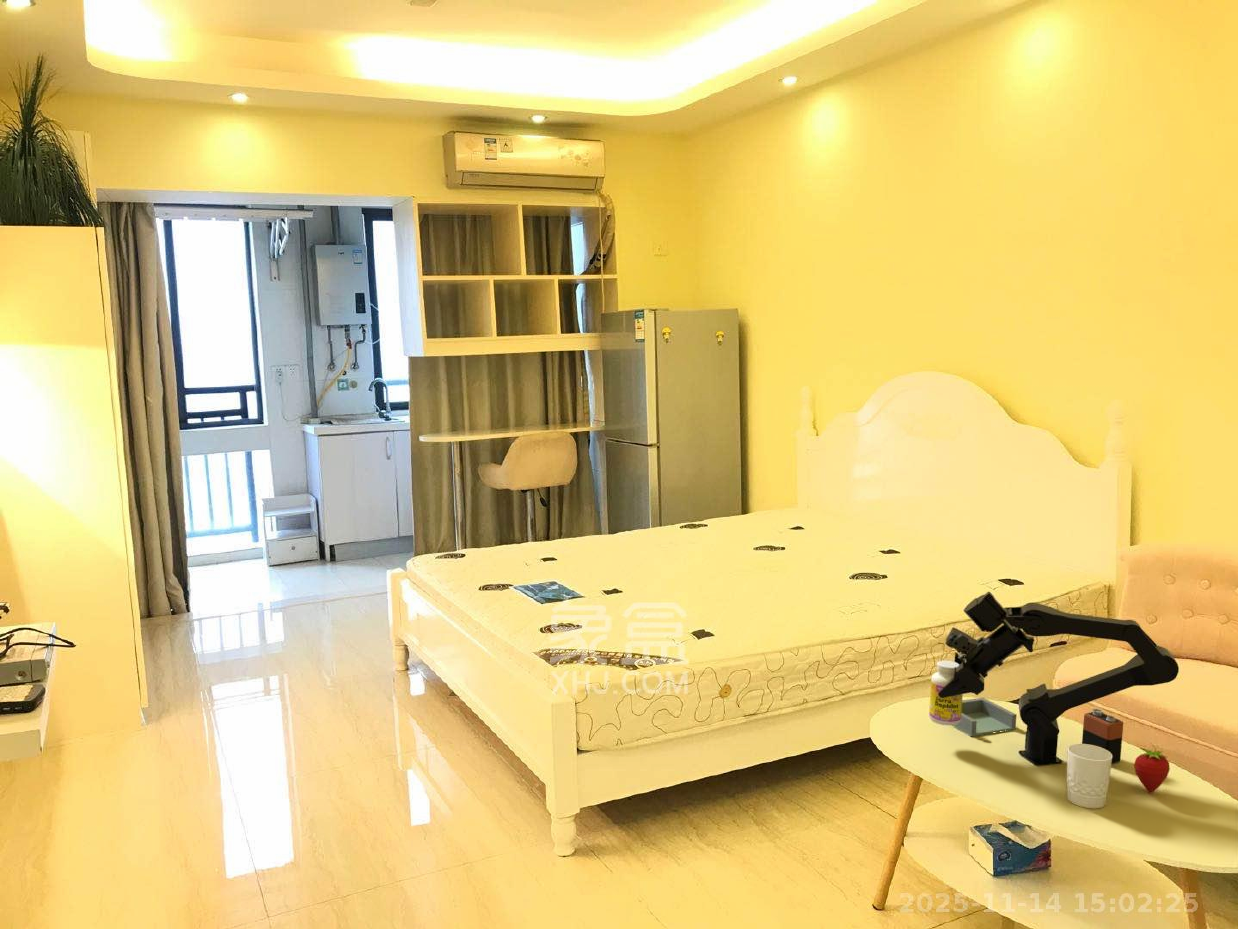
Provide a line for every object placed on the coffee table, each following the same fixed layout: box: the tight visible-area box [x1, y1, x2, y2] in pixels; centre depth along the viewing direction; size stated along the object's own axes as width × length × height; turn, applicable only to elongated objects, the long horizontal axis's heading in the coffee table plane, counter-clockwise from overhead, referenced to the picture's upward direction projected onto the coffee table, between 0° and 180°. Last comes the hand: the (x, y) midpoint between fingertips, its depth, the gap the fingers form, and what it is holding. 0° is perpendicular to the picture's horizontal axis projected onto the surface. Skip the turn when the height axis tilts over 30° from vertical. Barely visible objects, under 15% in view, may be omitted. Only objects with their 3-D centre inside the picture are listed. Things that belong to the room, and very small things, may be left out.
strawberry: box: [1133, 742, 1171, 794], centre depth 202 cm, size 6×8×10 cm
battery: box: [1081, 708, 1124, 765], centre depth 217 cm, size 4×7×10 cm, turn 24°
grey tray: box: [951, 697, 1017, 737], centre depth 235 cm, size 11×12×4 cm
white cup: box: [1066, 743, 1112, 810], centre depth 198 cm, size 8×8×10 cm
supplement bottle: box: [928, 660, 964, 727], centre depth 222 cm, size 7×7×13 cm
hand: (939, 690), depth 222 cm, fingers closed on supplement bottle, 7 cm apart
